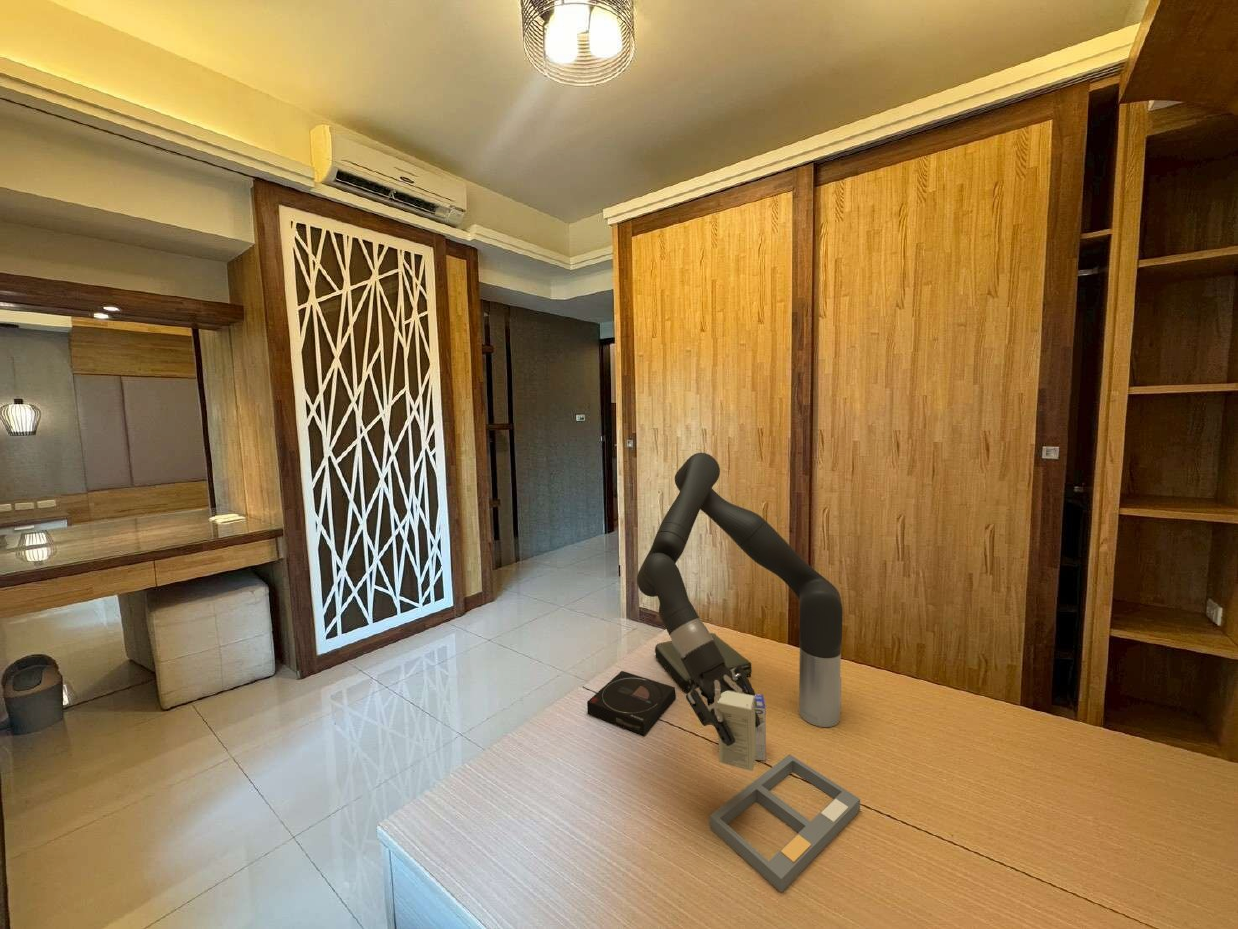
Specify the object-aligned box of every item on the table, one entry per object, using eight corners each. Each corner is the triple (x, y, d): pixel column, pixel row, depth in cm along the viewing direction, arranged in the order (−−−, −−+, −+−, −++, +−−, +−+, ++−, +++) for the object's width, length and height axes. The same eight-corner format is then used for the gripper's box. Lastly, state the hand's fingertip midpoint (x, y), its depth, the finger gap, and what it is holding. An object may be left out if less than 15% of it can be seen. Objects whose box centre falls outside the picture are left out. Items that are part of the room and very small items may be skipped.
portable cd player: (676, 700, 125) (675, 686, 125) (644, 738, 111) (643, 722, 111) (623, 682, 134) (623, 669, 134) (587, 716, 120) (587, 701, 120)
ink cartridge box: (763, 744, 107) (763, 683, 106) (767, 761, 102) (767, 698, 100) (719, 740, 109) (718, 681, 108) (720, 757, 104) (719, 695, 102)
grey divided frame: (789, 764, 101) (789, 752, 101) (860, 811, 89) (860, 797, 89) (709, 828, 87) (709, 814, 86) (781, 893, 74) (781, 877, 74)
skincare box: (756, 755, 89) (757, 695, 87) (752, 772, 85) (753, 710, 83) (722, 746, 91) (721, 687, 89) (716, 762, 87) (716, 701, 86)
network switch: (691, 701, 125) (691, 683, 124) (646, 661, 145) (645, 645, 145) (758, 676, 135) (758, 659, 135) (707, 642, 156) (707, 627, 155)
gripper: (711, 643, 100) (757, 723, 92) (660, 667, 92) (706, 759, 84) (731, 628, 95) (781, 712, 87) (678, 653, 87) (729, 749, 79)
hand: (744, 735), depth 86 cm, fingers closed on skincare box, 6 cm apart
